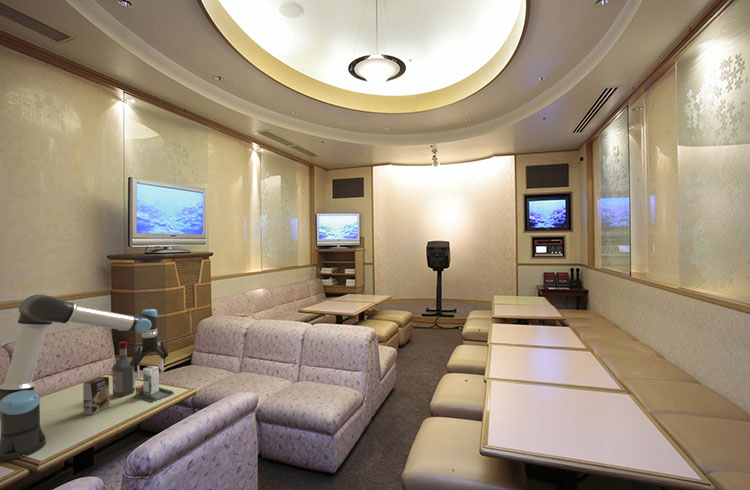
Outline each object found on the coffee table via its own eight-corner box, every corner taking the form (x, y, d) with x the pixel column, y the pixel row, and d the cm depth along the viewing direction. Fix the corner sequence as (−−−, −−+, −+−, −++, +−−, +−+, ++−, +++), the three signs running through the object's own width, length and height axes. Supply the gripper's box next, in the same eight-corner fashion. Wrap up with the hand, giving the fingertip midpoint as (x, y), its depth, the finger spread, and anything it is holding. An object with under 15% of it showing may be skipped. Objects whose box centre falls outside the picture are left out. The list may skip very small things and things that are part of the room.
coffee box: (93, 415, 177) (92, 383, 177) (83, 414, 178) (82, 382, 178) (110, 406, 186) (109, 376, 186) (100, 406, 187) (99, 376, 187)
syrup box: (142, 394, 199) (142, 368, 199) (152, 389, 204) (151, 365, 204) (150, 395, 197) (149, 369, 197) (159, 391, 202) (159, 366, 202)
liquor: (119, 398, 196) (117, 345, 196) (111, 395, 201) (110, 343, 201) (136, 392, 204) (135, 341, 204) (128, 389, 209) (127, 339, 209)
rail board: (152, 402, 190) (152, 393, 190) (133, 396, 198) (133, 387, 198) (174, 393, 200) (173, 385, 200) (155, 388, 209) (155, 380, 209)
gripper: (129, 342, 188) (130, 381, 187) (174, 332, 210) (174, 367, 209) (122, 340, 191) (122, 379, 191) (167, 331, 213) (167, 365, 213)
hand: (149, 373), depth 200 cm, fingers open, 13 cm apart
